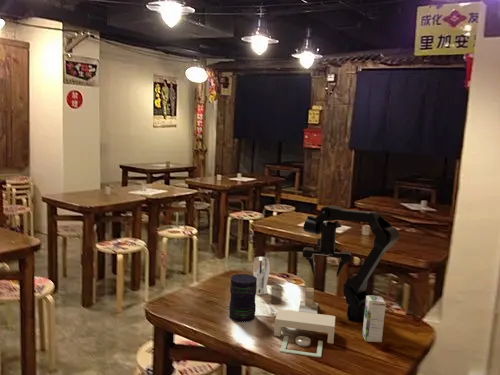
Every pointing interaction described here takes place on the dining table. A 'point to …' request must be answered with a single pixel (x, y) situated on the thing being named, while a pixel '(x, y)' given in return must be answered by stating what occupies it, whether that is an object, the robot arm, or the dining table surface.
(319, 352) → the frame
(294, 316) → the cream bridge block
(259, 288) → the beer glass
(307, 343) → the disc
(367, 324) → the syrup box
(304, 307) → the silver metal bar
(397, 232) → the robot arm
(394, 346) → the dining table surface
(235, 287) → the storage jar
